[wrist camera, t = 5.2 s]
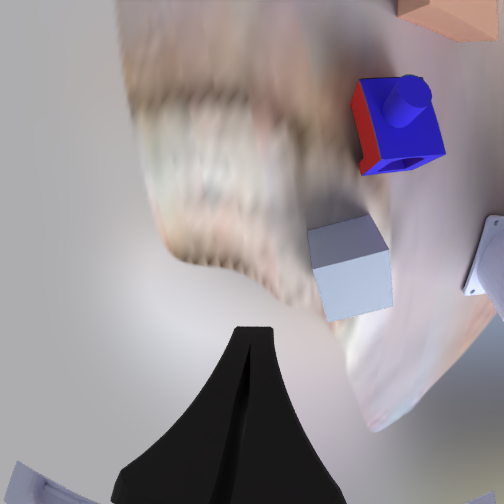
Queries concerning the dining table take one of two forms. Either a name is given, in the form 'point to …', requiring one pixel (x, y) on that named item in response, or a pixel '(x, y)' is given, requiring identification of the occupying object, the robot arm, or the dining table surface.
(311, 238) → the slate blue block
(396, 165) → the toy building block
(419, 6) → the terracotta block
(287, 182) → the dining table surface
